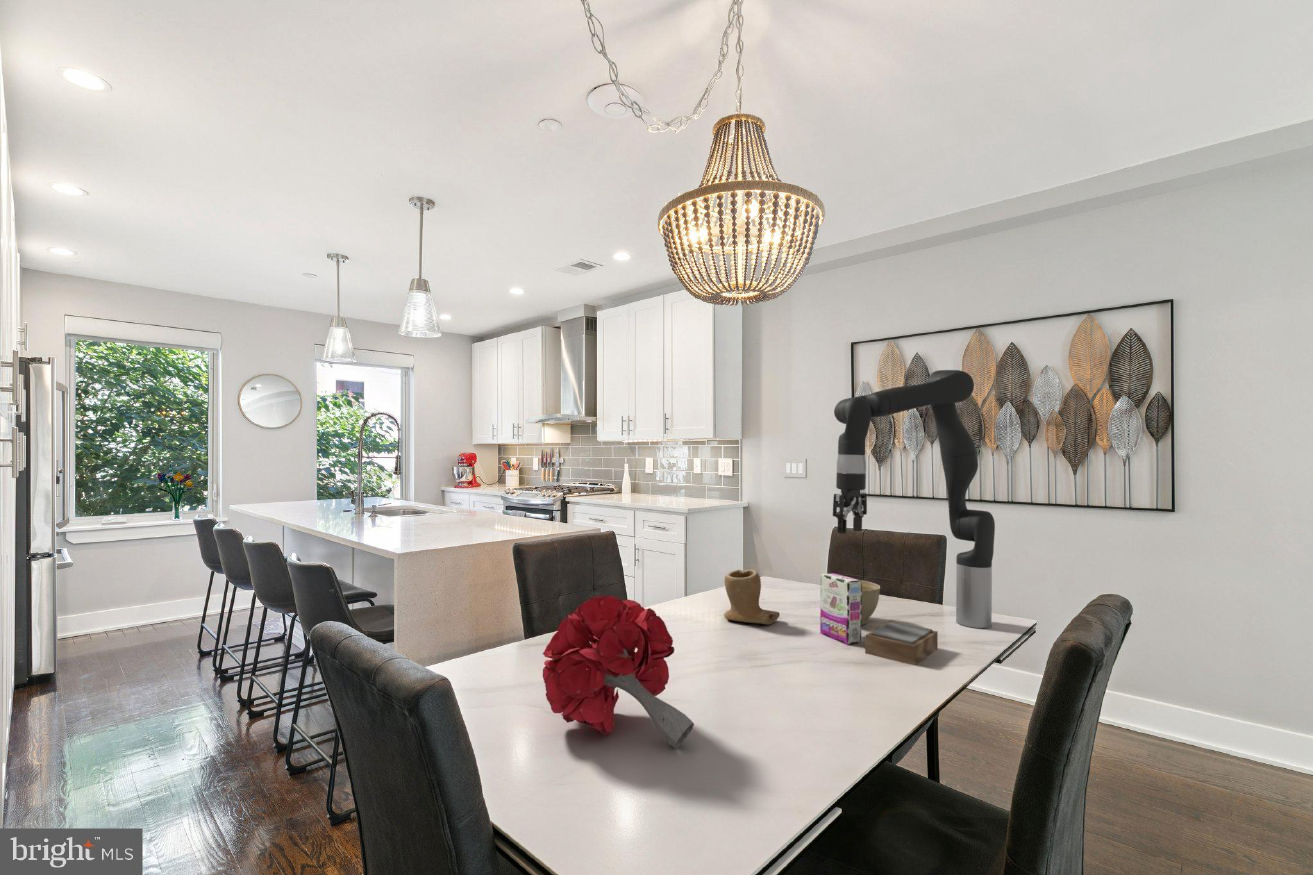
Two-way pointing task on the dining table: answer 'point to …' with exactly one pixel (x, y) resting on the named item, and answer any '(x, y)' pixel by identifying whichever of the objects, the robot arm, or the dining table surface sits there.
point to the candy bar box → (841, 608)
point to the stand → (901, 642)
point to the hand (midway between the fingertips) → (849, 532)
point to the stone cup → (746, 598)
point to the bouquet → (611, 666)
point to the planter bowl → (869, 600)
